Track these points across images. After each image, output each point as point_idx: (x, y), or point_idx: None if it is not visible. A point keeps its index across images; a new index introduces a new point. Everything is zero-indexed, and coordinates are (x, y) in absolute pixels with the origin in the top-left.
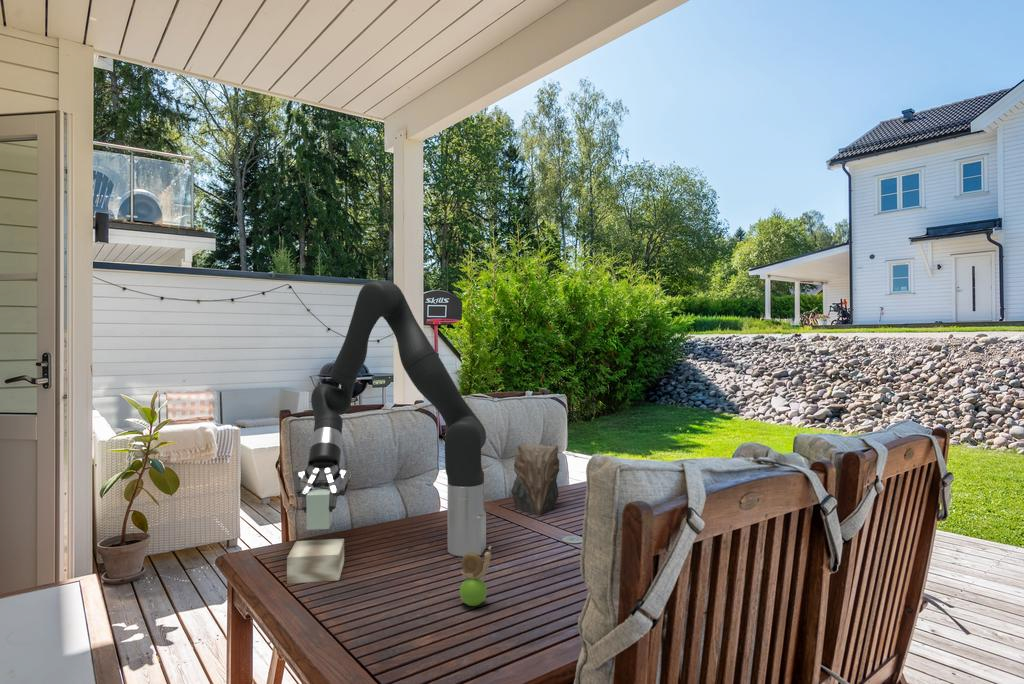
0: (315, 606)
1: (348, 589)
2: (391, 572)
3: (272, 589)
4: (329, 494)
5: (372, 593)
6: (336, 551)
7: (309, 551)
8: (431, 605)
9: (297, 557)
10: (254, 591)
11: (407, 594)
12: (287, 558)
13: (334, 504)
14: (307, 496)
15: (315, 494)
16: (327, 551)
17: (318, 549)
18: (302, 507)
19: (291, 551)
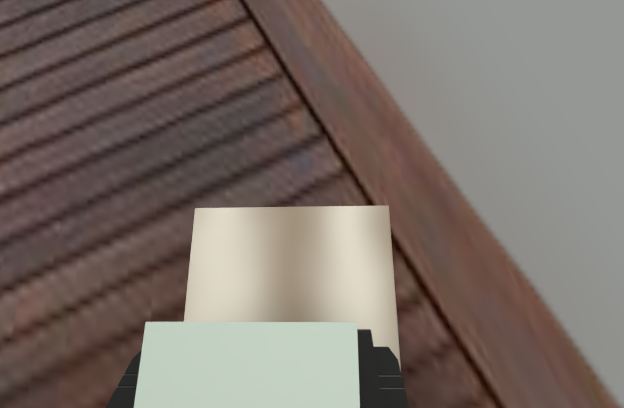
0: (269, 82)
1: (190, 166)
2: (52, 274)
3: (408, 197)
4: (143, 370)
5: (128, 132)
6: (205, 244)
7: (313, 261)
8: (3, 53)
9: (349, 207)
10: (456, 191)
11: (42, 114)
12: (385, 206)
13: (139, 355)
14: (347, 324)
15: (273, 342)
16: (240, 249)
17: (279, 280)
18: (383, 347)
19: (388, 273)
